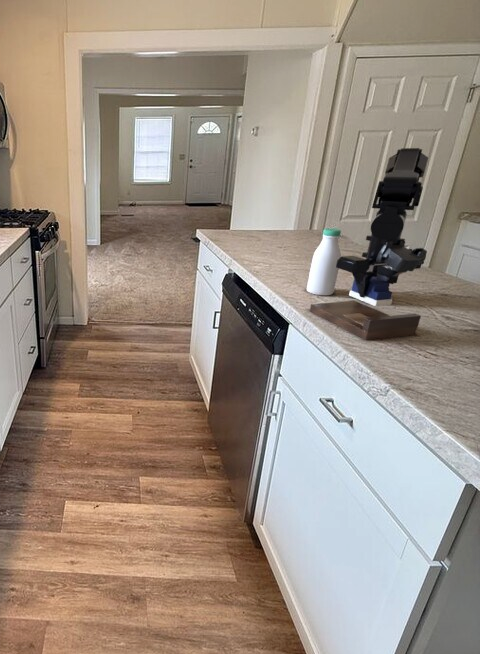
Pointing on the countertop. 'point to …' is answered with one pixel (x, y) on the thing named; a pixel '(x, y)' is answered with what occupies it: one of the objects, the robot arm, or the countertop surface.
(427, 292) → the countertop surface
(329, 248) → the milk bottle
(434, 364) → the countertop surface
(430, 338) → the countertop surface
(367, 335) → the brown wooden tray
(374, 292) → the navy white-based block
